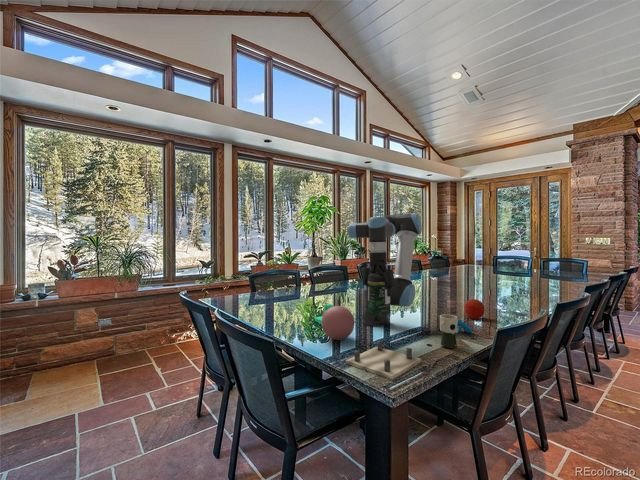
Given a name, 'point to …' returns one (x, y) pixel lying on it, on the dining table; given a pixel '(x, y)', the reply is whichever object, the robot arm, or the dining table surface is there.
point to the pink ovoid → (337, 322)
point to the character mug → (448, 330)
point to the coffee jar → (377, 295)
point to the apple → (474, 309)
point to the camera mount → (318, 319)
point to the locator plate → (378, 362)
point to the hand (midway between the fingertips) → (379, 302)
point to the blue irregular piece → (463, 326)
